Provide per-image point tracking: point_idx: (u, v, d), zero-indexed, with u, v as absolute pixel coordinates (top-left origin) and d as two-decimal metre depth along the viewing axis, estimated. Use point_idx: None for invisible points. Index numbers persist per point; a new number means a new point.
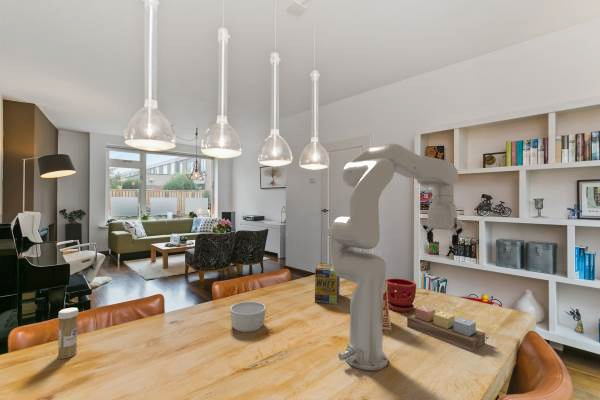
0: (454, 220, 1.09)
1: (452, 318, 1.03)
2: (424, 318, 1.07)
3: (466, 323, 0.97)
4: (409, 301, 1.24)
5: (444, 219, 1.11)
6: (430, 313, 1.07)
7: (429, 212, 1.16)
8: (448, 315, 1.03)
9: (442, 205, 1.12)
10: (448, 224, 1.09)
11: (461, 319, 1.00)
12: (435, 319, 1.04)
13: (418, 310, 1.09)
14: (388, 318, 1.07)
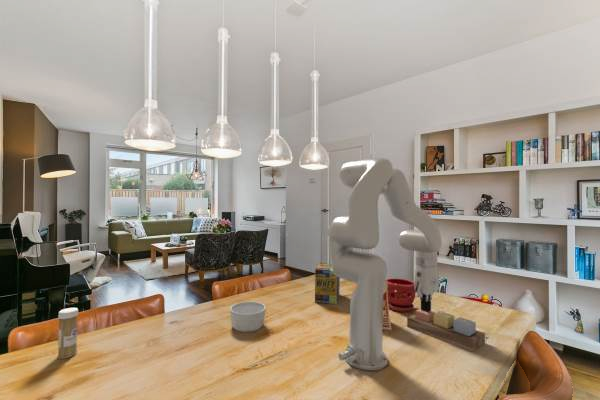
0: None
1: (452, 318, 1.03)
2: (424, 320, 1.07)
3: (466, 323, 0.97)
4: (409, 301, 1.24)
5: (436, 282, 1.09)
6: (429, 316, 1.07)
7: (426, 278, 1.05)
8: (448, 315, 1.03)
9: (434, 268, 1.08)
10: (437, 286, 1.10)
11: (461, 319, 1.00)
12: (435, 319, 1.04)
13: (418, 312, 1.09)
14: (388, 318, 1.07)
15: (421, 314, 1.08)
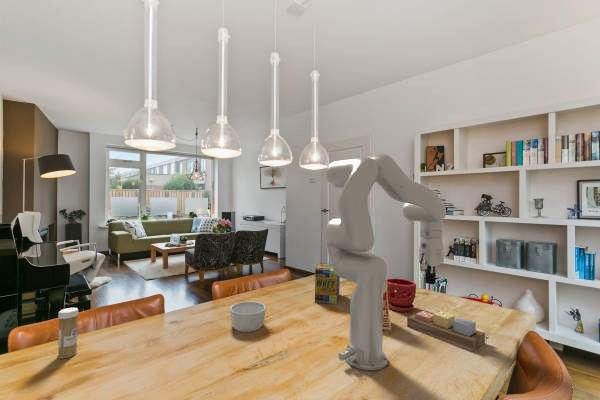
0: None
1: (452, 318, 1.03)
2: None
3: (466, 323, 0.97)
4: (409, 301, 1.24)
5: (440, 254, 1.08)
6: (429, 319, 1.07)
7: (432, 249, 1.04)
8: (448, 315, 1.03)
9: (439, 240, 1.07)
10: (442, 259, 1.08)
11: (461, 319, 1.00)
12: (435, 319, 1.04)
13: (418, 316, 1.09)
14: (388, 318, 1.07)
15: (421, 317, 1.08)
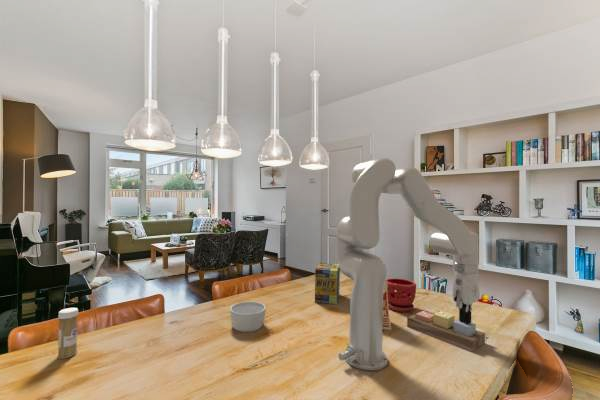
0: None
1: (452, 318, 1.03)
2: None
3: (466, 324, 0.97)
4: (409, 301, 1.24)
5: (476, 290, 0.98)
6: (429, 319, 1.07)
7: (468, 286, 0.94)
8: (448, 315, 1.03)
9: (475, 275, 0.97)
10: (478, 295, 0.99)
11: None
12: (435, 319, 1.04)
13: (418, 316, 1.09)
14: (388, 318, 1.07)
15: (421, 317, 1.08)
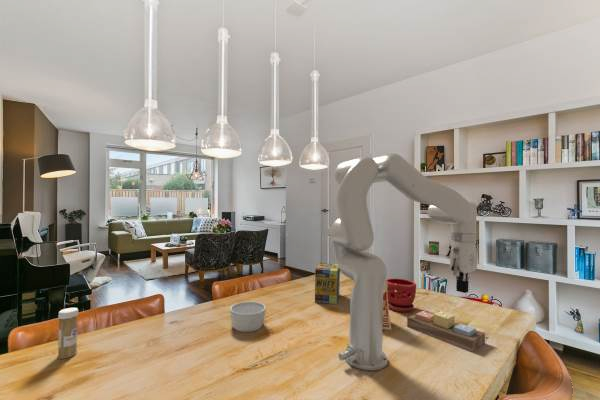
0: None
1: (452, 318, 1.03)
2: None
3: (466, 329, 0.97)
4: (409, 301, 1.24)
5: (474, 260, 0.98)
6: (429, 319, 1.07)
7: (465, 254, 0.95)
8: (448, 315, 1.03)
9: (472, 244, 0.98)
10: (475, 265, 0.99)
11: (461, 325, 1.00)
12: (435, 319, 1.04)
13: (418, 316, 1.09)
14: (388, 318, 1.07)
15: (421, 317, 1.08)
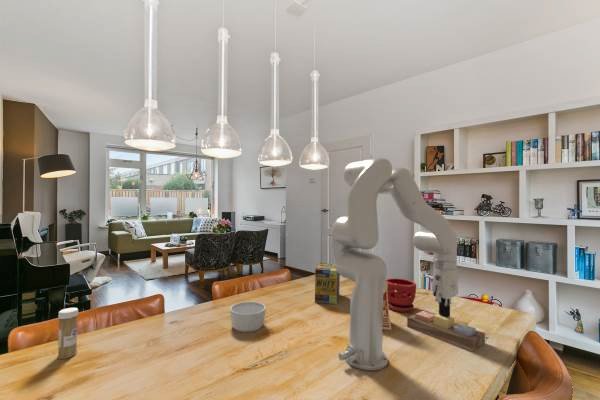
0: None
1: (452, 320, 1.03)
2: None
3: (466, 329, 0.97)
4: (409, 301, 1.24)
5: (455, 286, 1.03)
6: (429, 319, 1.07)
7: (446, 282, 1.00)
8: (448, 317, 1.03)
9: (453, 271, 1.03)
10: (457, 290, 1.04)
11: (461, 325, 1.00)
12: (435, 321, 1.04)
13: (418, 316, 1.09)
14: (388, 318, 1.07)
15: (421, 317, 1.08)
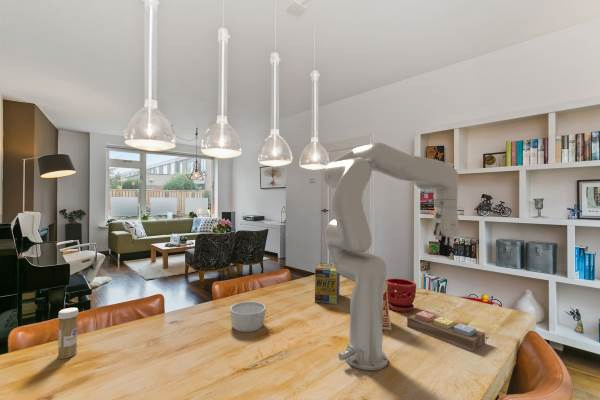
0: None
1: (452, 324, 1.03)
2: None
3: (466, 329, 0.97)
4: (409, 301, 1.24)
5: (455, 225, 1.03)
6: (429, 319, 1.07)
7: (446, 219, 1.00)
8: (448, 321, 1.03)
9: (454, 210, 1.03)
10: (457, 230, 1.04)
11: (461, 325, 1.00)
12: None
13: (418, 316, 1.09)
14: (388, 318, 1.07)
15: (421, 317, 1.08)
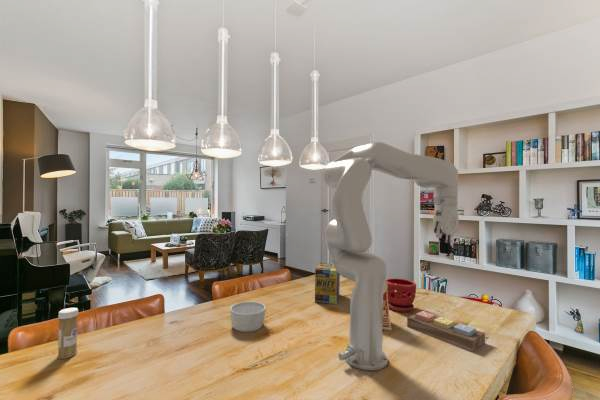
0: None
1: (452, 324, 1.03)
2: None
3: (466, 329, 0.97)
4: (409, 301, 1.24)
5: (456, 223, 1.03)
6: (429, 319, 1.07)
7: (447, 216, 1.00)
8: (448, 321, 1.03)
9: (454, 208, 1.03)
10: (457, 228, 1.04)
11: (461, 325, 1.00)
12: None
13: (418, 316, 1.09)
14: (388, 318, 1.07)
15: (421, 317, 1.08)
